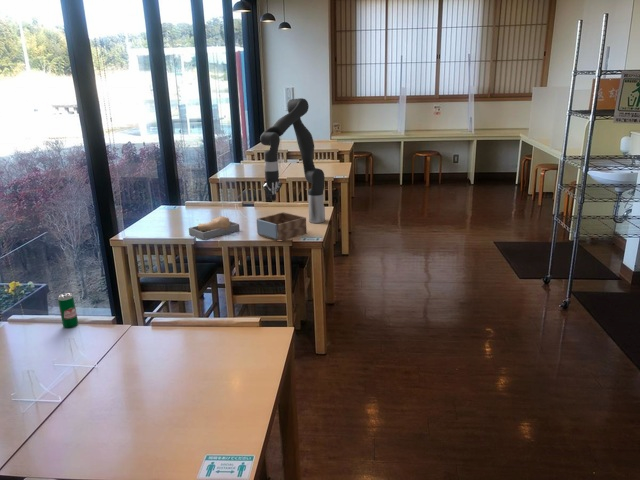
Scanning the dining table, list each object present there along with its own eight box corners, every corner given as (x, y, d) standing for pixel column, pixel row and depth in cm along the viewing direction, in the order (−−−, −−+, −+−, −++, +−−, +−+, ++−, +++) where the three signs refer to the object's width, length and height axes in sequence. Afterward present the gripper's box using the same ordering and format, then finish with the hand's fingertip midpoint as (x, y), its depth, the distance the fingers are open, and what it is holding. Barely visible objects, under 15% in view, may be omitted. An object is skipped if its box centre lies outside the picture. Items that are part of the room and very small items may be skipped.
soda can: (66, 330, 178) (60, 299, 175) (60, 325, 181) (54, 295, 178) (80, 324, 182) (75, 294, 178) (74, 321, 185) (69, 291, 181)
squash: (230, 234, 287) (226, 220, 283) (197, 238, 290) (192, 224, 286) (234, 226, 297) (230, 212, 293) (202, 230, 300) (198, 216, 296)
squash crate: (224, 225, 306) (224, 219, 305) (239, 230, 296) (239, 224, 294) (189, 234, 290) (188, 228, 289) (203, 239, 279) (202, 233, 278)
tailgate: (259, 232, 285) (258, 219, 282) (277, 238, 273) (277, 224, 271) (257, 233, 284) (256, 219, 282) (276, 238, 272) (275, 224, 270)
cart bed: (284, 227, 299) (283, 212, 296) (306, 233, 286) (306, 217, 283) (258, 234, 286) (257, 218, 284) (280, 241, 273) (279, 224, 270)
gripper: (276, 167, 278) (278, 197, 283) (257, 170, 270) (259, 201, 275) (285, 168, 273) (286, 199, 278) (266, 171, 264) (268, 203, 270)
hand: (273, 200), depth 277 cm, fingers closed
